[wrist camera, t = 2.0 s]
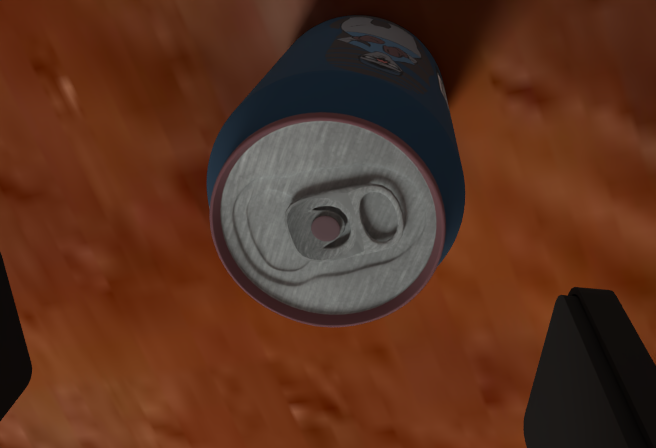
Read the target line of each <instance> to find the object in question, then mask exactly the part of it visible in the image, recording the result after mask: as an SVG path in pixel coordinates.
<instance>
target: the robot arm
mask: <svg viewBox="0 0 656 448" xmlns="http://www.w3.org/2000/svg"><path fill="white" fill-rule="evenodd" d="M31 374H32V364H31V361H30V357H29V353H28V350H27V346H26V342H25V339H24V335H23V331H22V328H21V324H20V321H19V317H18V313H17V310H16V306H15V302H14V299H13V295H12V291H11V288H10V284H9V280H8V277H7V273H6V270H5V266H4V262H3V259H2V255H1V253H0V421H1V420H2V418H3V417H4V416H5V414H6V413H7V412H8V411H9V409H10V408H11V407H12V405H13V404H14V403H15V401H16V400H17V399H18V397H19V396H20V395H21V394H22V392H23V391H24V390H25V388H26V387H27V385H28V384H29V381H30V379H31ZM524 437H525V442H526V446H527V448H656V366H655V364H654V362H653V360H652V359H651V357H650V355H649V353H648V351H647V350H646V348H645V346H644V344H643V343H642V341H641V339H640V337H639V335H638V334H637V332H636V330H635V328H634V327H633V325H632V323H631V321H630V320H629V318H628V316H627V314H626V312H625V311H624V309H623V307H622V305H621V304H620V302H619V300H618V298H617V296H616V295H615V294H614V292H613V291H610V290H602V289H591V288H579V287H574V288H572V289H571V290H570V292H569V294H568V296H566V295H560V296H558V298H557V300H556V303H555V306H554V310H553V313H552V317H551V321H550V324H549V328H548V332H547V335H546V339H545V343H544V346H543V350H542V354H541V357H540V361H539V365H538V368H537V372H536V376H535V379H534V383H533V387H532V390H531V394H530V398H529V401H528V405H527V409H526V412H525V417H524Z"/></svg>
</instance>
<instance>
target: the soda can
mask: <svg viewBox="0 0 656 448" xmlns="http://www.w3.org/2000/svg"><path fill="white" fill-rule="evenodd" d="M207 195H208V202H209V207H210V227H211V233H212V238H213V241H214V245H215V247H216V250H217V253H218V255H219V257H220V259H221V261H222V263H223V265H224V267H225V268H226V270H227V271H228V273H229V274H230V275H231V277H232V278H233V279H234V281H235V282H236V283H237V284H238V285H239V286H240V287H241V288H242V289H243V290H244V291H245V292H246V293H247V294H248V295H249V296H250V297H252V298H253V299H254V300H256V301H257V302H258V303H260V304H261V305H263V306H264V307H266V308H268V309H270V310H271V311H273V312H275V313H277V314H279V315H281V316H284V317H286V318H289V319H291V320H294V321H297V322H301V323H304V324H308V325H313V326H320V327H346V326H353V325H358V324H363V323H367V322H371V321H374V320H377V319H379V318H382V317H384V316H387V315H389V314H391V313H393V312H394V311H396V310H398V309H399V308H401V307H402V306H404V305H405V304H407V303H408V302H409V301H410V300H412V299H413V298H414V297H415V296H416V295H417V294H418V293H419V292H420V291H421V290H422V289H423V288H424V286H425V285H426V284H427V282H428V281H429V280H430V278H431V277H432V275H433V273H434V272H435V270H436V268H437V266H438V265H439V264H440V263H441V262H442V260H443V259H444V257H445V256H446V255H447V253H448V252H449V250H450V248H451V247H452V245H453V243H454V241H455V239H456V236H457V234H458V231H459V228H460V225H461V222H462V218H463V213H464V205H465V182H464V175H463V170H462V166H461V161H460V156H459V152H458V147H457V143H456V138H455V134H454V129H453V124H452V120H451V115H450V111H449V106H448V102H447V97H446V92H445V88H444V83H443V79H442V76H441V73H440V70H439V68H438V66H437V64H436V62H435V60H434V58H433V57H432V55H431V53H430V52H429V51H428V49H427V48H426V47H425V46H424V45H423V43H422V42H421V41H420V40H419V39H418V38H417V37H415V36H414V35H413V34H412V33H410V32H409V31H407V30H406V29H404V28H403V27H401V26H399V25H397V24H395V23H393V22H391V21H388V20H385V19H381V18H378V17H373V16H365V15H351V16H343V17H338V18H334V19H331V20H328V21H325V22H323V23H320V24H319V25H317V26H315V27H313V28H311V29H310V30H308V31H307V32H306V33H304V34H303V35H302V36H301V37H300V38H298V39H297V40H296V41H295V42H294V43H293V45H292V46H291V47H290V48H289V49H288V50H287V51H286V53H285V54H284V55H283V56H282V57H281V58H280V59H279V61H278V62H277V63H276V64H275V65H274V66H273V67H272V69H271V70H270V71H269V72H268V73H267V74H266V75H265V77H264V78H263V79H262V80H261V81H260V82H259V83H258V84H257V86H256V87H255V88H254V89H253V90H252V91H251V92H250V94H249V95H248V96H247V97H246V98H245V99H244V100H243V102H242V103H241V104H240V105H239V106H238V107H237V108H236V110H235V111H234V112H233V113H232V114H231V116H230V117H229V118H228V119H227V121H226V122H225V124H224V125H223V127H222V129H221V131H220V132H219V134H218V136H217V138H216V141H215V143H214V146H213V149H212V152H211V155H210V159H209V164H208V171H207Z"/></svg>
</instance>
